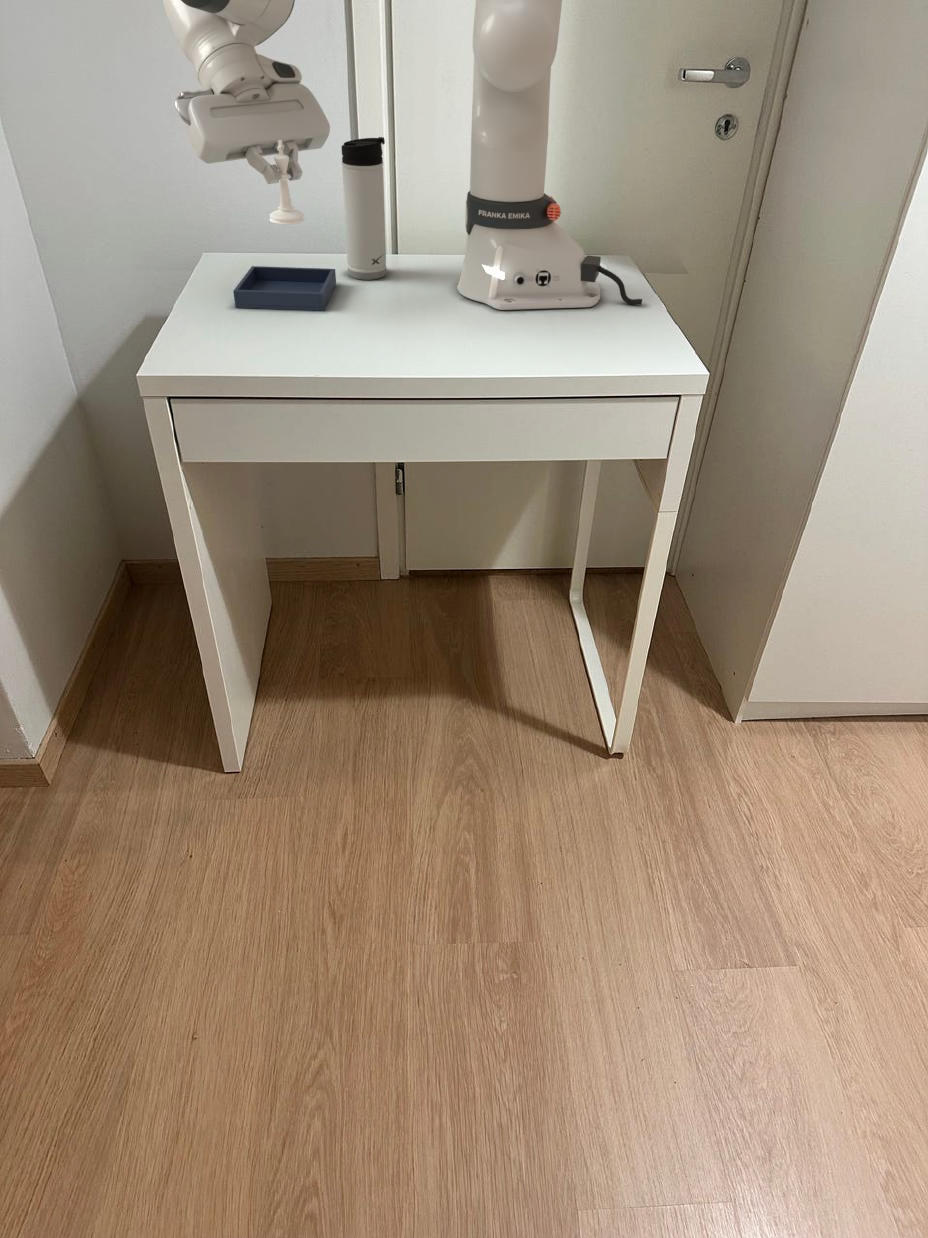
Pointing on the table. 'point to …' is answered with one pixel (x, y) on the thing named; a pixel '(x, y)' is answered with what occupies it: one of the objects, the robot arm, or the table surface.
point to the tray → (285, 288)
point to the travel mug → (364, 207)
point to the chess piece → (284, 194)
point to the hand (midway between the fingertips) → (286, 179)
